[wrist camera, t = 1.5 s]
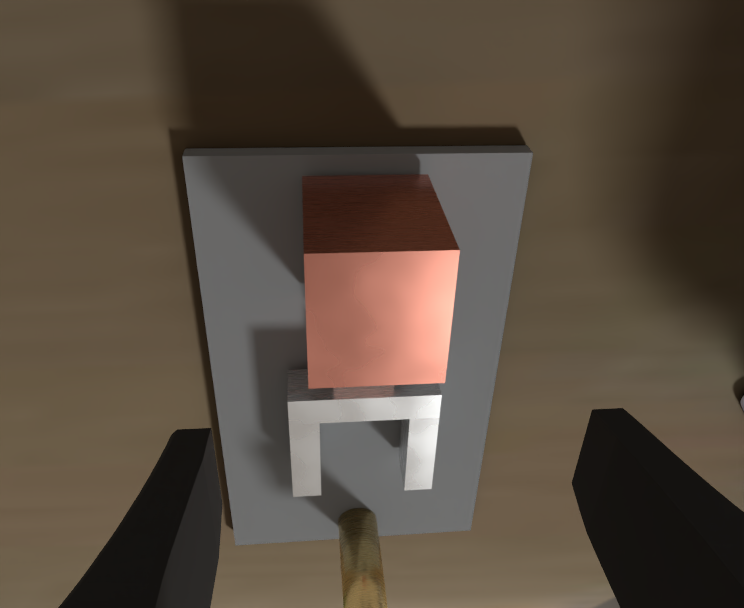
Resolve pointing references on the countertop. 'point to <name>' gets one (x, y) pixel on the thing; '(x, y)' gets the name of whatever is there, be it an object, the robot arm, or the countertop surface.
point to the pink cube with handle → (373, 317)
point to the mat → (289, 338)
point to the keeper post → (361, 560)
